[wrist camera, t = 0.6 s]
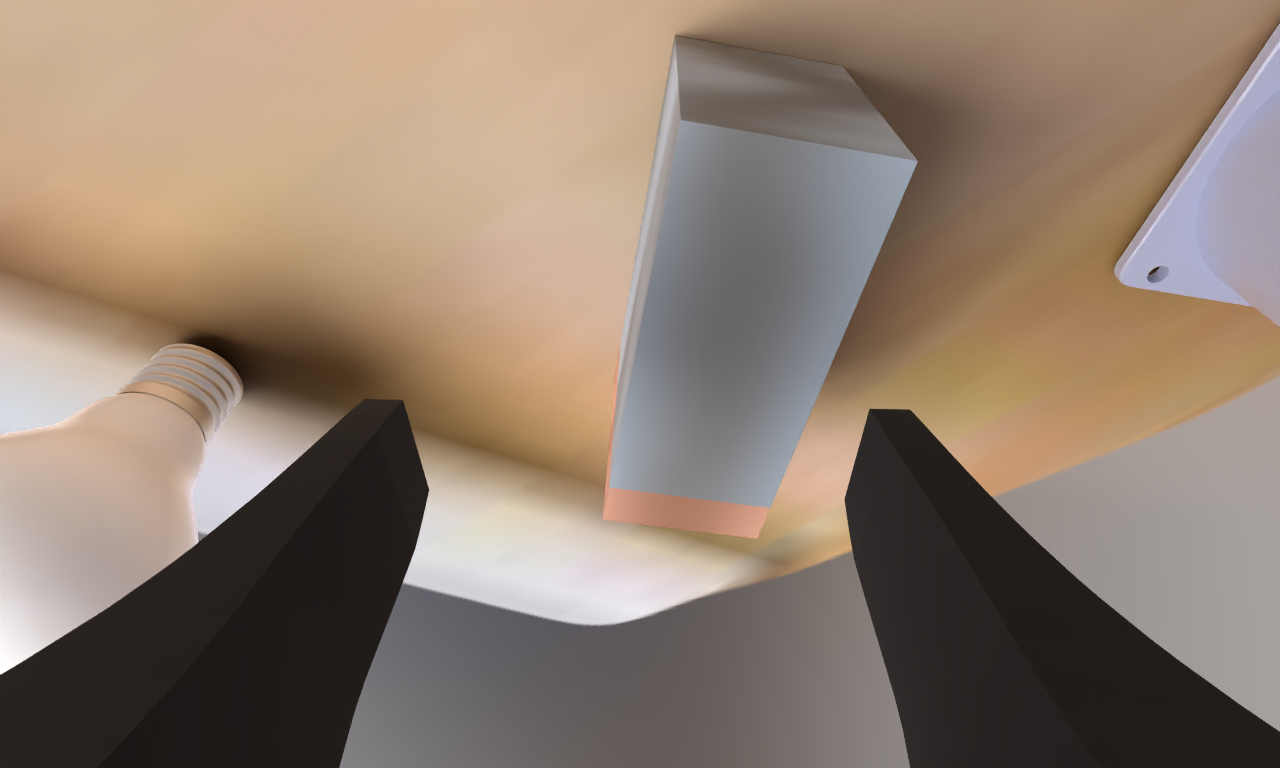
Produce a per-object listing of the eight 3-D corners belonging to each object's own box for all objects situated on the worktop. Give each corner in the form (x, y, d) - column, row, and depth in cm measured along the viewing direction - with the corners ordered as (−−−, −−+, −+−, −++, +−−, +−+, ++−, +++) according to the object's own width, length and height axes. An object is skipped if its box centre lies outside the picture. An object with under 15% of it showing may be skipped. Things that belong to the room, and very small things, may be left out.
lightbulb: (213, 456, 25) (-26, 785, 16) (55, 322, 21) (-359, 654, 13) (351, 403, 23) (165, 742, 14) (204, 247, 19) (-160, 574, 11)
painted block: (842, 66, 16) (917, 161, 11) (736, 390, 22) (757, 538, 17) (674, 35, 16) (681, 120, 11) (615, 373, 22) (603, 519, 17)
